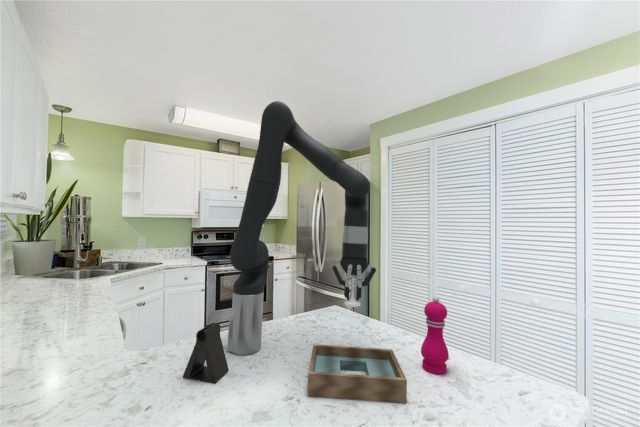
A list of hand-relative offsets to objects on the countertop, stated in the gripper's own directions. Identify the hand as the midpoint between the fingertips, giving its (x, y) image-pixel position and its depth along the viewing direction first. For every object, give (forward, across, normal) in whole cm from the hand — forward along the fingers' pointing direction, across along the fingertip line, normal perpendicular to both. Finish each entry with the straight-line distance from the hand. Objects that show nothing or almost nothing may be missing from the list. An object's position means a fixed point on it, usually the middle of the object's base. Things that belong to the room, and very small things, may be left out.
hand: (352, 299), depth 86 cm
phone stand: (+17, -37, -14) cm, 43 cm away
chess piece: (+2, 0, 0) cm, 2 cm away
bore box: (+17, 0, -13) cm, 22 cm away
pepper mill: (+17, +23, -5) cm, 29 cm away
